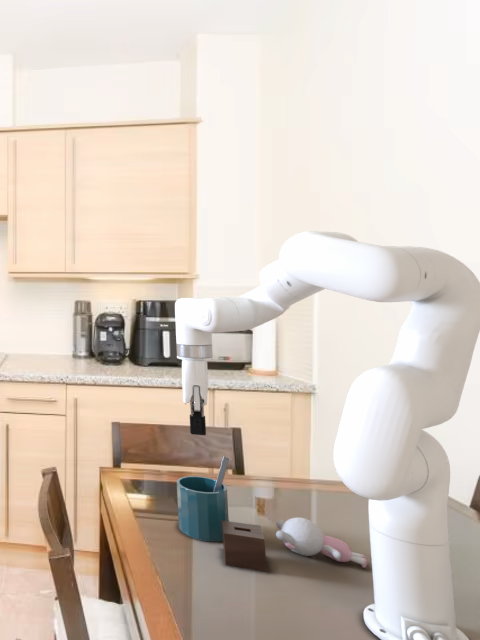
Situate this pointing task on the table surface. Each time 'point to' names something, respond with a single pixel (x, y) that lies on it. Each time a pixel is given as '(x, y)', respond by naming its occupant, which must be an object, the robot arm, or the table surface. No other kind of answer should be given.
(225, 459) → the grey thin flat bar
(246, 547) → the utensil block
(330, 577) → the table surface
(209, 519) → the teal cylindrical cup
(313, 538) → the toy
